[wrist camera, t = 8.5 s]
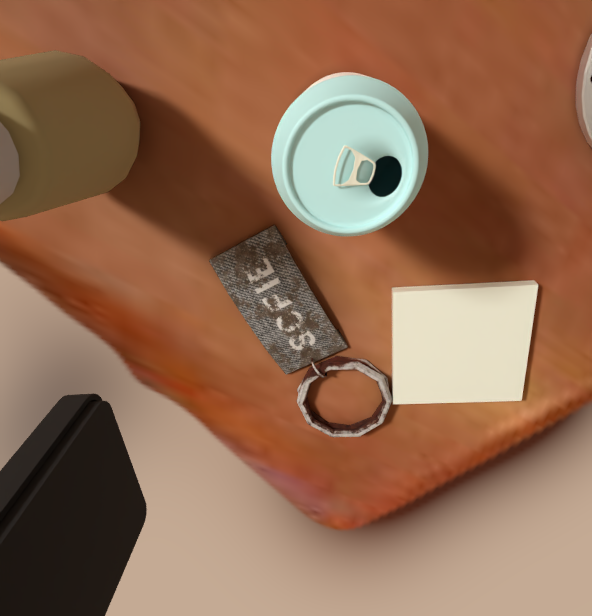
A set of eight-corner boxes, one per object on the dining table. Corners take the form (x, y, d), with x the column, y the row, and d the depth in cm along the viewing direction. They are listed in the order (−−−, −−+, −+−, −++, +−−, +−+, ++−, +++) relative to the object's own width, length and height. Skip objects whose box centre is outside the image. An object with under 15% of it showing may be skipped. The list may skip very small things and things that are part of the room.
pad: (534, 280, 35) (538, 284, 34) (518, 394, 39) (521, 400, 38) (391, 287, 36) (393, 292, 35) (392, 398, 40) (393, 404, 39)
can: (378, 51, 29) (405, 43, 18) (414, 163, 32) (455, 213, 21) (271, 101, 31) (238, 121, 20) (314, 204, 33) (305, 270, 23)
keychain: (293, 212, 34) (291, 220, 32) (406, 407, 41) (409, 422, 39) (203, 261, 36) (196, 271, 34) (324, 439, 43) (324, 455, 41)
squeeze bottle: (173, 85, 31) (-5, 107, 14) (141, 202, 34) (-29, 324, 18) (46, 28, 30) (-294, -14, 14) (28, 155, 33) (-259, 240, 17)
